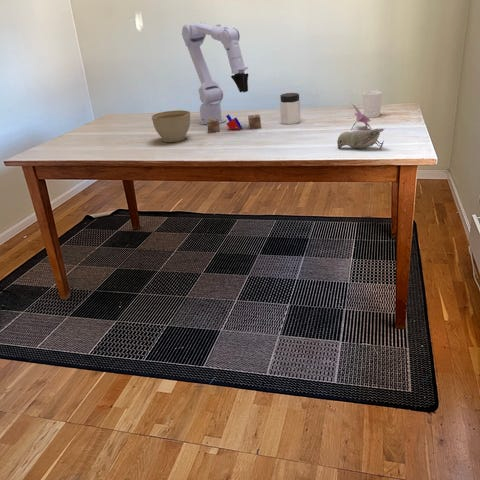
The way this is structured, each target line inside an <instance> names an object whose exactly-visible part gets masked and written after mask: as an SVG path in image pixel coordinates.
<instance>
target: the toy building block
mask: <svg viewBox="0 0 480 480" xmlns="http://www.w3.org/2000/svg"><path fill="white" fill-rule="evenodd" d="M225 117H226V118H227V120H228V122H227V123H226V126H227V127H228V129H229V131H230V130H231V131H232V130H234V129H236V128H237V130H238V131H240V130H241V129H242V128H243V125H242V124H241V122H240V121H239V119H238V117H234V118H232V117H231V116H230V114H227V115H225Z"/></svg>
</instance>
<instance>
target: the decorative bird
mask: <svg viewBox="0 0 480 480" xmlns="http://www.w3.org/2000/svg"><path fill="white" fill-rule="evenodd" d="M384 130H385V127H384V128H374V129H364V130H354V131H344V132H342V133H340V134H339V136H338V139H337V141H336V142H337V148H338V149H341V148H342V147H343V146H344V147H345V146H348V147H350V148H351V149H352V148H353V149H362V148H363V149H364V148H369V147H372V146H374V145H377V146H378V147H379V150H381V149H382V147H383V145H384V141H382V143H381V142H380V141H379V139H378V138H380V135H381V132H383V131H384Z"/></svg>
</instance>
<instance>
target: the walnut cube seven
mask: <svg viewBox="0 0 480 480" xmlns="http://www.w3.org/2000/svg"><path fill="white" fill-rule="evenodd" d="M206 125H207V134H216V132H218V133H220V132H221V126H220V124H219V119H209V120H207V124H206Z"/></svg>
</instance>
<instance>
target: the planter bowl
mask: <svg viewBox="0 0 480 480" xmlns="http://www.w3.org/2000/svg"><path fill="white" fill-rule="evenodd" d="M150 117H151V120H152V123H153V128H154V129H155V132H156V133H157V134H158V135H159V136H160V137H161V140H162V142H166V143H177V142H180V141H184V140H185V139H186V135H187V133H188V131H189V129H190V125H191V112H190V111H188V110H184V109H181V110H180V109H179V110H177V109H176V110H167V111H162V112H161V111H160V112H157V113H154V114H153V115H151V116H150Z"/></svg>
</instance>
